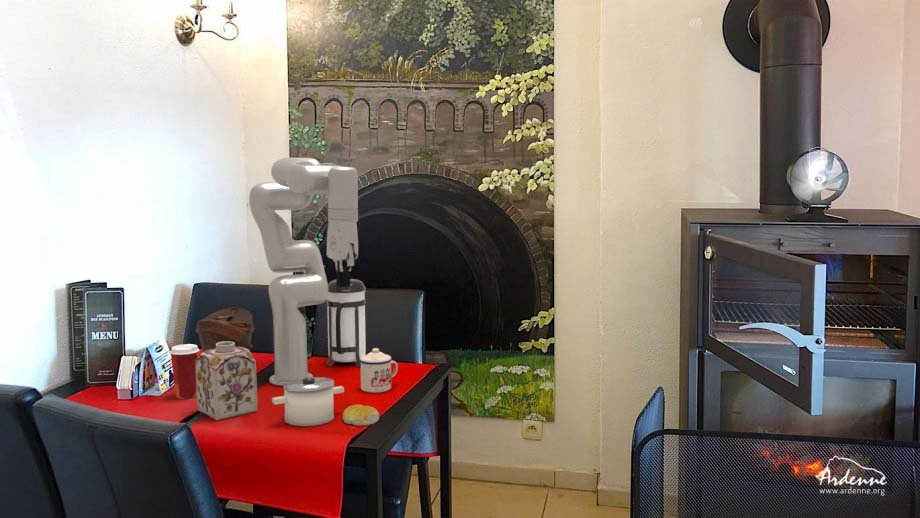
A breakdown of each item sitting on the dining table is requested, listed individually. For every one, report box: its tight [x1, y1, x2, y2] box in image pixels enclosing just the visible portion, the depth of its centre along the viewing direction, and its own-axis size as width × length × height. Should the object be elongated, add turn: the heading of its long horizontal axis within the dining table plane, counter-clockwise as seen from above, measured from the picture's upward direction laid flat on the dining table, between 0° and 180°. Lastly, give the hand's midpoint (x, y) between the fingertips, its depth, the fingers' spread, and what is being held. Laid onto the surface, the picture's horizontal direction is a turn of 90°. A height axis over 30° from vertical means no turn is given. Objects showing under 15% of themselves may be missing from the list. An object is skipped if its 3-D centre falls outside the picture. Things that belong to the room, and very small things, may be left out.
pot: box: [271, 385, 345, 427], centre depth 190 cm, size 12×18×8 cm, turn 125°
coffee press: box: [326, 278, 367, 368], centre depth 244 cm, size 17×16×30 cm
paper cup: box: [169, 343, 200, 400], centre depth 209 cm, size 8×8×14 cm
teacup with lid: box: [360, 347, 399, 394], centre depth 217 cm, size 12×9×12 cm
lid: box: [283, 376, 335, 392], centre depth 189 cm, size 12×12×2 cm
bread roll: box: [342, 404, 380, 427], centre depth 188 cm, size 8×9×4 cm
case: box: [195, 306, 255, 353], centre depth 242 cm, size 18×20×18 cm
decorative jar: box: [196, 341, 258, 421], centre depth 195 cm, size 12×12×18 cm
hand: (343, 286), depth 195 cm, fingers closed
